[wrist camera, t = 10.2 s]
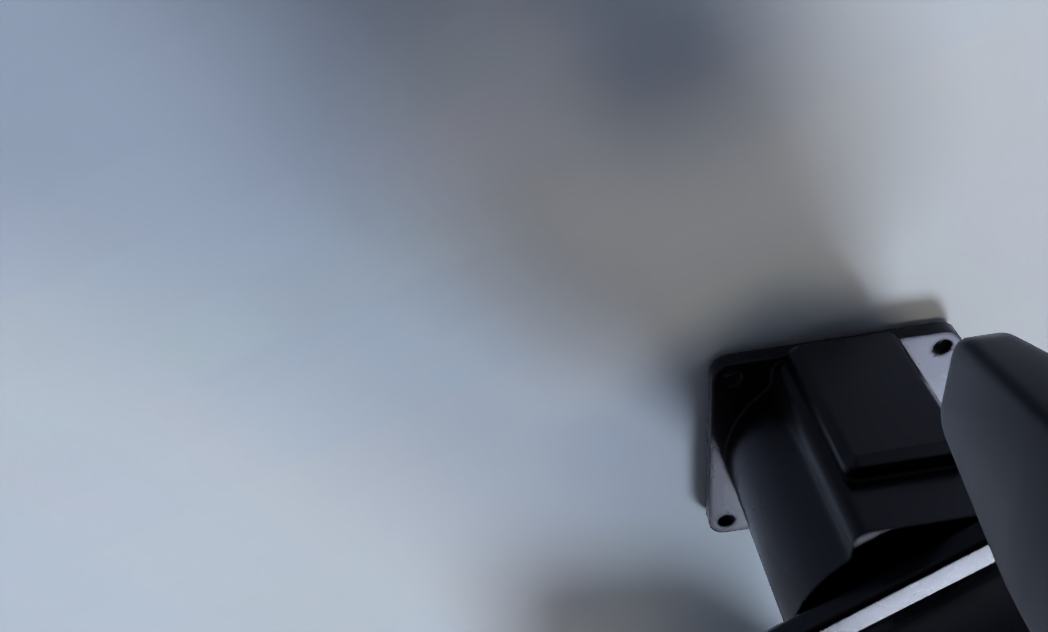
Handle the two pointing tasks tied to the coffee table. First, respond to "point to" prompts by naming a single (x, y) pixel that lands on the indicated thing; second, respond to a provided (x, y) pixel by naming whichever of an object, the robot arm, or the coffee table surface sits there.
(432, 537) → the coffee table surface
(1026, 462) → the robot arm
